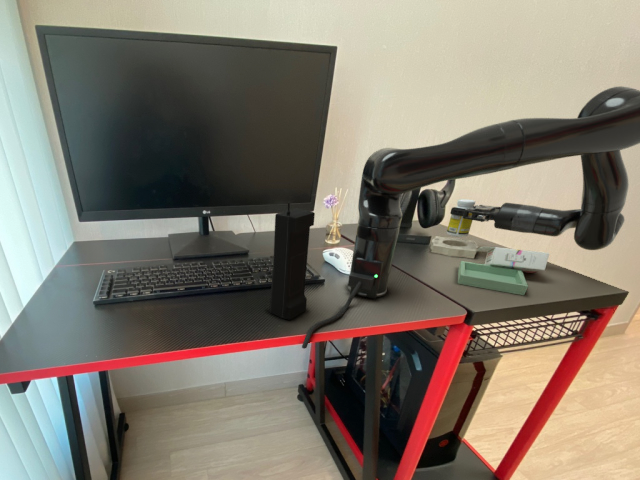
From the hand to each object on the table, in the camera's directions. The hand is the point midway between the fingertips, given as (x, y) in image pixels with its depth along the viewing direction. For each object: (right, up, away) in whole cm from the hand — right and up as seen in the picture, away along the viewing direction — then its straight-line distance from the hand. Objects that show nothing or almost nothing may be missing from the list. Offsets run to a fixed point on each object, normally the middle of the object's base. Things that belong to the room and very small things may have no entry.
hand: (456, 209), depth 105 cm
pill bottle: (+2, -8, +2) cm, 9 cm away
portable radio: (-59, -32, -30) cm, 74 cm away
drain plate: (+2, -13, +5) cm, 14 cm away
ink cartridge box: (+11, -20, -18) cm, 29 cm away
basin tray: (-3, -24, -18) cm, 30 cm away
